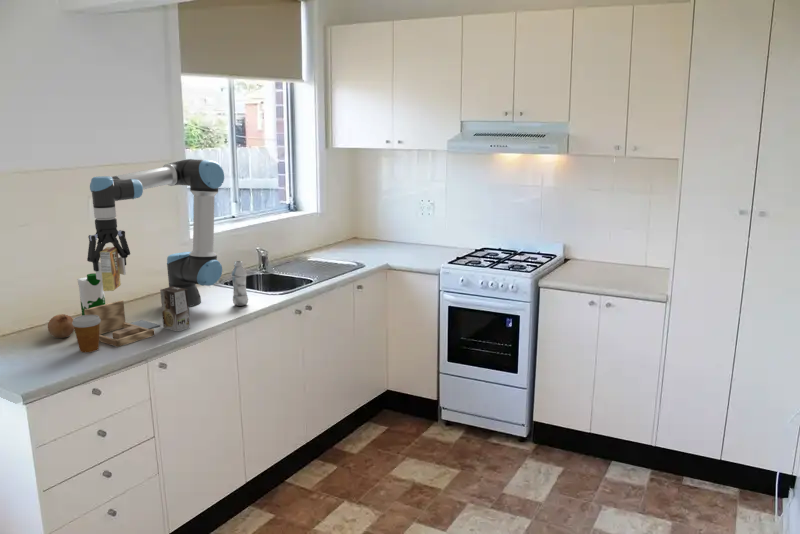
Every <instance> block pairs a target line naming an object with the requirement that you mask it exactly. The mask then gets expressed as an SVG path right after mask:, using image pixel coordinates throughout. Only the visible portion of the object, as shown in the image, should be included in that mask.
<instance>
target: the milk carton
mask: <svg viewBox="0 0 800 534" xmlns="http://www.w3.org/2000/svg"><path fill="white" fill-rule="evenodd" d="M76 280H77V286H78V291H79V299H80V301H79V302H80V308H81V316H83V315H85V313H84V310H85V309H89V308H93V307H97V306H101V305H105V304H106V295H105V291H103V282H102V280H98V279H96V272H94V273H88V274H86V277H80V278H77V279H76Z"/></svg>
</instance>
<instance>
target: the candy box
mask: <svg viewBox="0 0 800 534" xmlns="http://www.w3.org/2000/svg"><path fill="white" fill-rule="evenodd" d="M99 261H100V263H101V270H102V282H103V291H104V292H114V291H115V290H116V289H118V288H119V287H120V286H121V285H122V283H121V274H120V271H119V254H118V251H117V248H115V247H114V246H106V247H105V248H103V251H100V259H99Z"/></svg>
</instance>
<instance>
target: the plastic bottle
mask: <svg viewBox="0 0 800 534" xmlns="http://www.w3.org/2000/svg"><path fill="white" fill-rule="evenodd" d="M231 280H232V286H233V287H232V288H233V295H232V303H233V304H234V305H235V306H237V307H242V306H246V305H247V304H248V302H249V297H248V293H247V292H248V291H247V270H246V269H245V268H244V263H243V261H242V260H241V261H240V260H236V261H234V262H233V268H232V270H231Z"/></svg>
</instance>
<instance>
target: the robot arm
mask: <svg viewBox="0 0 800 534" xmlns="http://www.w3.org/2000/svg"><path fill="white" fill-rule="evenodd" d="M224 182H225V173H224V169H223V167H222V166H221V165H220V164H219V163H218V162H217V161H214V160H211V159H194V158H193V159H192V158H190V159H189V158H187V159H186V158H185V159H182V160H178V161H174V162H170V163H169V162H168V163H165V164H163V165H162V166H161V167H155V168H151V169H145V170H140V171H134V172H129V173H123V174H118V175H114V176H109V175H108V176H106V175H104V176H93V177H92V178H91V179H90V183H89V190H90V192H91V197H92V204H93V205H92V206H93V216H94V226H95V231H96V232H95V234H92V235H91V234H88V237H87V238H88V241H89V242H88V249H87V250H88V251H87V258H86V259H87V260H86V261H87V262H89V263H92V267H93V272H95V273H96V279H98V280H102V270H101V261H100V251H103V249H105V248H104V247H105V246H106V244H110V243H111V244H112V247H115V248H117V251H118V258H119V271H120V275H124V276H125V275H127V274H126V266H127V258H128V257H129V256H130V255H131V251H130V248H129V244H128V242H127V238H126V231H125V230H121V229H120V230H118V221H117V218H116V217H117V211H116V202H118V201H125V200H134V199H139V198H140V197H142V195H143V194H144V190H147V189H151V188H152V189H153V188H157V187H162V186H168V187H173V186H189V191H190V192H191V193H192V195H193V222H192V223H193V227H192V228H193V229H192V231H193V235H192V236H193V237H192V238H193V239H192V251H183V252H175V253H172V254H169V255H168V256H166V257H167V258H166V267H167V278H168V279H167V280H168V287H172V286H174V287H179V288H184V289H187V295H188V308H189V307H194V306H197V305H199V304H200V303H202V297H201V293H200V292H199V289H198V287H197V285H199V286H206V287H210V286H213V285H215V284H216V283H217V282H218V281H219V280H220V279H221V277H222V273H223V266H222V263H221V262H220V261H219V260H218V254H217V253H216V252H215V251H214V247H215V245H214V241H215V238H214V237H215V236H214V235H215V231H214V230H215V196H216V195H217V194H218V193H219V188H220V187H221V186H222V185H223V184H224ZM117 236H118V238H117ZM118 239H119V240H118ZM99 261H100V262H99Z"/></svg>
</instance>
